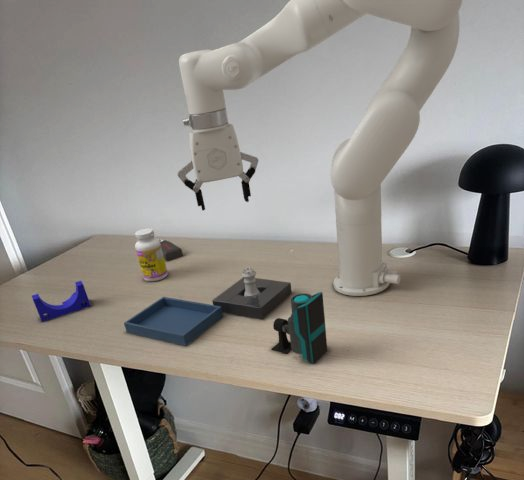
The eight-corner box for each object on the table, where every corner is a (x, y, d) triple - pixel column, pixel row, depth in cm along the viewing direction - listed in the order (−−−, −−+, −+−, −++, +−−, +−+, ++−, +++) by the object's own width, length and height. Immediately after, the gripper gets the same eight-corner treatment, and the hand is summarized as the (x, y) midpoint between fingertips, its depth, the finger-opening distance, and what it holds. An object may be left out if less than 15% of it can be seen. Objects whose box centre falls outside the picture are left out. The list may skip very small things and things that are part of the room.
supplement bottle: (139, 282, 139) (125, 236, 133) (152, 271, 144) (140, 226, 138) (160, 282, 137) (147, 236, 130) (172, 272, 142) (161, 226, 135)
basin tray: (223, 316, 115) (221, 306, 114) (186, 346, 106) (183, 335, 105) (165, 305, 124) (163, 296, 123) (126, 332, 115) (123, 322, 114)
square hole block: (292, 293, 120) (290, 282, 119) (262, 319, 111) (260, 308, 110) (245, 286, 127) (244, 276, 125) (214, 311, 118) (212, 300, 117)
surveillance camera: (277, 283, 97) (323, 291, 91) (285, 338, 103) (328, 349, 98) (259, 296, 93) (306, 305, 88) (268, 352, 100) (312, 364, 94)
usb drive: (166, 261, 150) (164, 252, 148) (152, 251, 159) (150, 242, 158) (183, 255, 152) (181, 246, 150) (168, 246, 161) (166, 237, 160)
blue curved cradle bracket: (87, 300, 134) (79, 278, 131) (90, 306, 130) (83, 284, 127) (39, 315, 130) (31, 293, 127) (42, 321, 126) (32, 299, 123)
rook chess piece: (263, 305, 117) (257, 272, 113) (243, 307, 117) (237, 275, 113) (263, 296, 121) (258, 264, 117) (244, 299, 121) (238, 267, 117)
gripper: (167, 131, 101) (186, 216, 110) (253, 115, 102) (266, 201, 111) (167, 126, 108) (185, 207, 117) (248, 111, 109) (261, 193, 118)
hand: (225, 204), depth 114 cm, fingers open, 9 cm apart
